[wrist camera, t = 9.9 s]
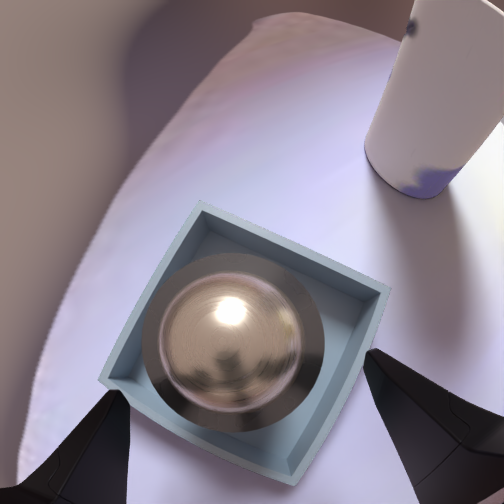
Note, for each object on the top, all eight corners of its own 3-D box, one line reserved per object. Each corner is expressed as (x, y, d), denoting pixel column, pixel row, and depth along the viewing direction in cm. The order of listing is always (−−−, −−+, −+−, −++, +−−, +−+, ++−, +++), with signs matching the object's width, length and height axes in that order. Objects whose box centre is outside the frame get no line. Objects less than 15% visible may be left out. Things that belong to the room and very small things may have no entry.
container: (380, 113, 27) (430, -32, 9) (450, 159, 25) (530, 33, 6) (349, 161, 25) (415, -37, 6) (434, 218, 22) (561, 65, 4)
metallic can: (239, 406, 17) (207, 489, 5) (185, 339, 19) (80, 314, 7) (307, 351, 18) (386, 349, 6) (251, 287, 20) (241, 189, 8)
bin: (288, 464, 16) (295, 486, 12) (123, 377, 18) (97, 380, 14) (369, 300, 20) (391, 287, 16) (208, 225, 22) (199, 200, 19)
